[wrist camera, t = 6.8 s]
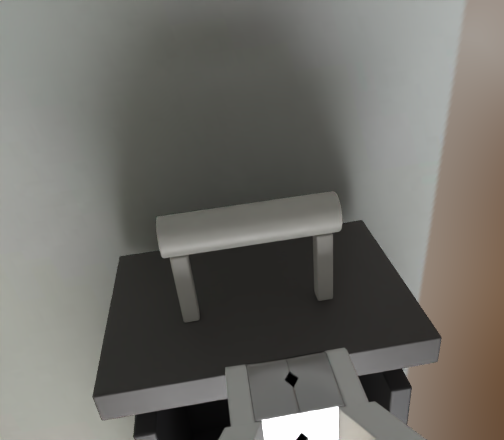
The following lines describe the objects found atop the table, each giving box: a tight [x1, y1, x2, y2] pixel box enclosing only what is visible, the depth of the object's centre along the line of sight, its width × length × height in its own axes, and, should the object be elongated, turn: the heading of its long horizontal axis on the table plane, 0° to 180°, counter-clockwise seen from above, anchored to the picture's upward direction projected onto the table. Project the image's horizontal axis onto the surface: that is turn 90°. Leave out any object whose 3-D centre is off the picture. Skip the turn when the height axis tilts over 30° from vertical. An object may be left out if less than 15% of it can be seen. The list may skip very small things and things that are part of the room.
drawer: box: [93, 191, 441, 440], centre depth 20 cm, size 17×11×8 cm
